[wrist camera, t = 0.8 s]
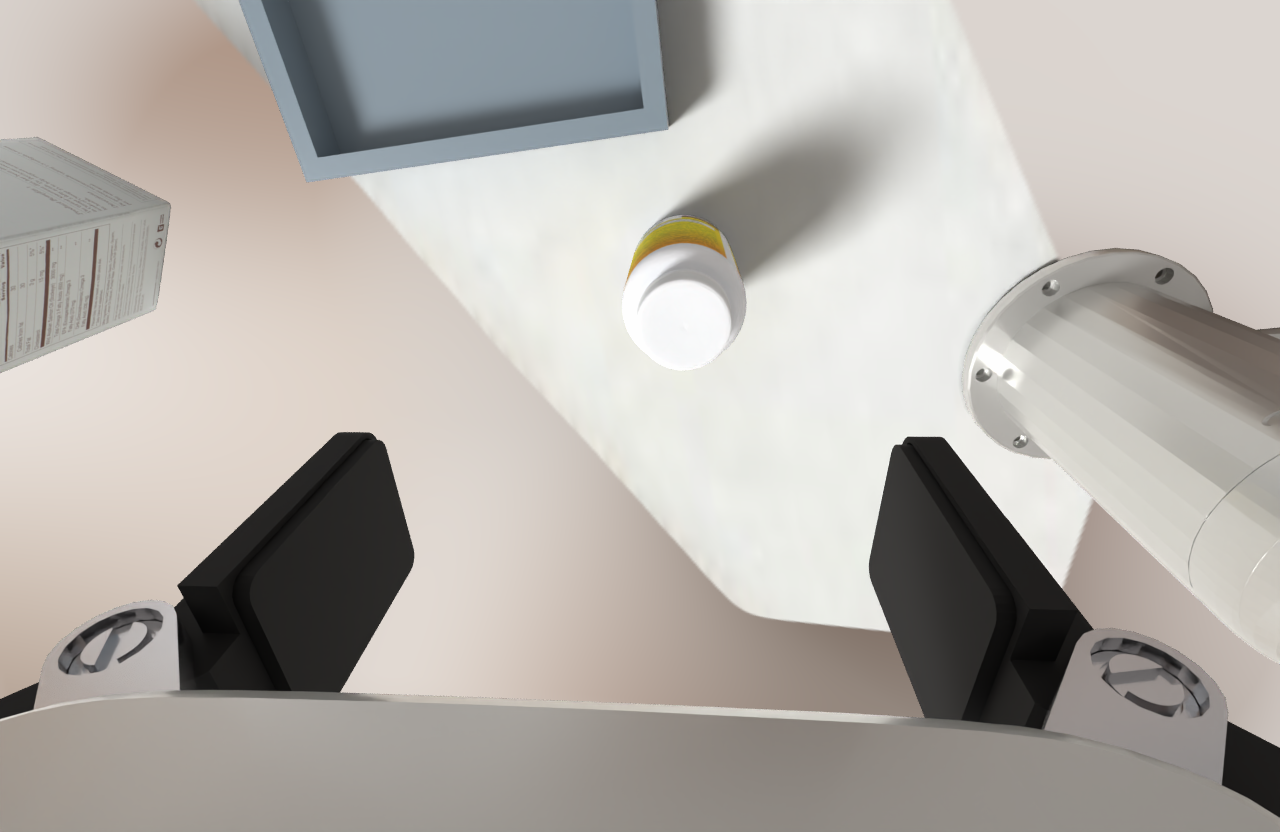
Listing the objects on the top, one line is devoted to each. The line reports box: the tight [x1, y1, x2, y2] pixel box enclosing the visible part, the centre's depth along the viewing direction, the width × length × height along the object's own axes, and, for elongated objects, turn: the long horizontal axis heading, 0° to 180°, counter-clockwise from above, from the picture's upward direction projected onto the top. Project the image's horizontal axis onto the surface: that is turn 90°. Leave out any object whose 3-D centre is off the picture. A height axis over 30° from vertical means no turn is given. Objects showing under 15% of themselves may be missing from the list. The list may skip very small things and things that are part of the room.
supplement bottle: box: [622, 215, 746, 370], centre depth 28 cm, size 6×6×10 cm
